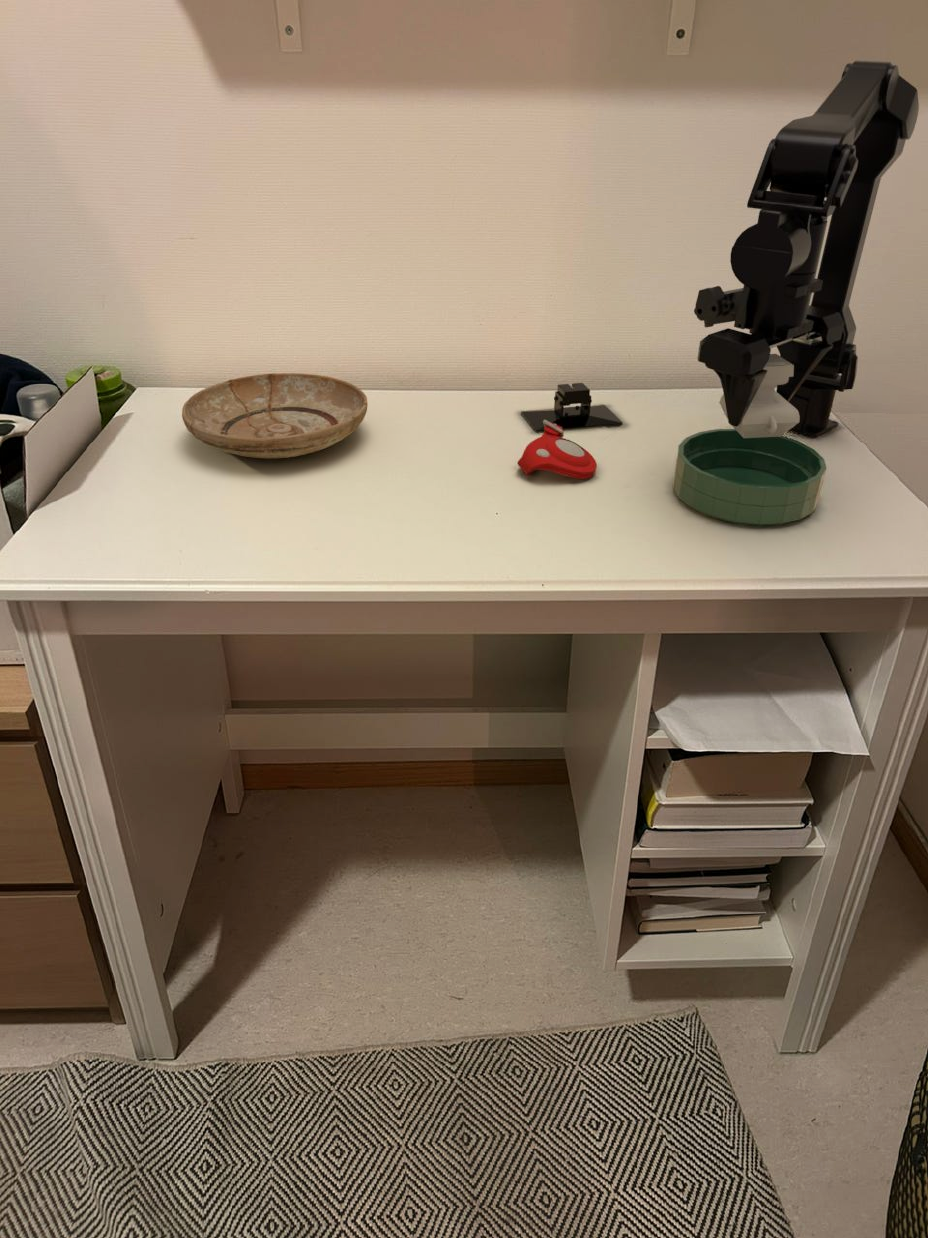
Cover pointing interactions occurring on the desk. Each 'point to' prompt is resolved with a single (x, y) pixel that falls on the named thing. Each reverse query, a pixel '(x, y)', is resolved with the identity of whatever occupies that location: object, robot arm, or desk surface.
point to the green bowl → (748, 477)
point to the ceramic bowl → (275, 414)
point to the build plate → (572, 411)
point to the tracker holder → (557, 455)
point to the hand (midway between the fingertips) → (757, 414)
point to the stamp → (769, 404)
